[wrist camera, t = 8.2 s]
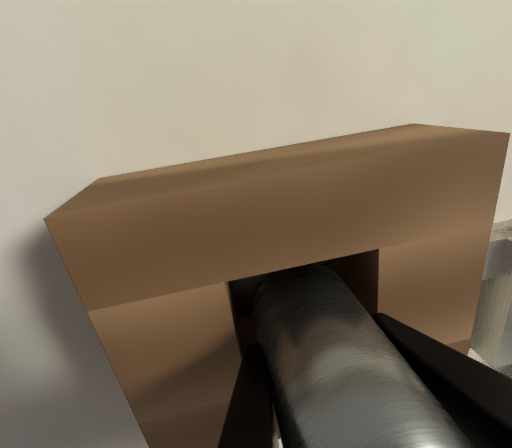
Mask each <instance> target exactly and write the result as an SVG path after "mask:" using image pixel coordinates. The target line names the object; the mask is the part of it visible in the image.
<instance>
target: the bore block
mask: <svg viewBox="0 0 512 448" xmlns="http://www.w3.org/2000/svg"><path fill="white" fill-rule="evenodd" d="M509 137H510V133H504V132H494V131H483V130H473V129H463V128H453V127H443V126H433V125H423V124H408V125H403V126H397V127H391V128H385V129H380V130H374V131H368V132H362V133H357V134H351V135H345V136H339V137H334V138H328V139H322V140H316V141H311V142H305V143H299V144H293V145H288V146H282V147H276V148H270V149H265V150H259V151H253V152H247V153H242V154H236V155H230V156H224V157H219V158H213V159H207V160H201V161H196V162H190V163H184V164H178V165H173V166H167V167H161V168H155V169H150V170H144V171H138V172H132V173H127V174H121V175H115V176H109V177H104V178H98V179H97V180H96V181H94V182H93V183H92V184H90V185H89V186H88V187H86V188H85V189H84V190H82V191H81V192H79V193H78V194H77V195H75V196H74V197H73V198H71V199H70V200H69V201H67V202H66V203H64V204H63V205H62V206H60V207H59V208H58V209H56V210H55V211H54V212H52V213H51V214H50V215H48V216H47V217H45V218H44V221H45V223H46V225H47V227H48V230H49V232H50V234H51V236H52V238H53V240H54V243H55V245H56V247H57V249H58V251H59V253H60V256H61V258H62V260H63V262H64V264H65V266H66V269H67V271H68V273H69V275H70V277H71V279H72V282H73V284H74V286H75V288H76V290H77V292H78V294H79V297H80V299H81V301H82V303H83V305H84V307H85V310H86V312H87V314H88V316H89V318H90V320H91V323H92V325H93V327H94V329H95V331H96V333H97V336H98V338H99V340H100V342H101V344H102V346H103V349H104V351H105V353H106V355H107V357H108V359H109V362H110V364H111V366H112V368H113V370H114V372H115V375H116V377H117V379H118V381H119V383H120V385H121V387H122V390H123V392H124V394H125V396H126V398H127V400H128V403H129V405H130V407H131V409H132V411H133V413H134V416H135V418H136V420H137V422H138V424H139V426H140V429H141V431H142V433H143V435H144V437H145V439H146V442H147V444H148V446H149V448H217V446H218V443H219V439H220V436H221V432H222V428H223V425H224V421H225V418H226V414H227V410H228V407H229V403H230V400H231V396H232V392H233V389H234V385H235V381H236V378H237V374H238V371H239V367H240V363H241V360H242V356H243V353H244V349H245V346H246V345H247V344H250V343H254V342H258V339H257V334H256V330H255V326H254V322H253V317H252V314H248V315H244V316H240V317H236V313H235V308H234V303H233V299H232V294H231V289H230V284H229V281H232V280H237V279H241V278H246V277H251V276H255V275H260V274H265V273H269V272H274V271H278V270H283V269H288V268H292V267H297V266H302V265H306V264H311V263H315V262H320V261H325V260H330V269H331V270H333V271H334V272H335V273H336V274H337V275H338V276H339V277H340V278H341V279H342V281H343V282H344V283H345V284H346V286H347V287H348V288H349V290H350V291H351V292H352V293H353V295H354V296H355V297H356V298H357V300H358V301H359V302H360V303H361V305H362V306H363V307H364V308H365V310H366V311H367V312H368V314H369V315H372V314H376V313H384V314H386V315H388V316H390V317H392V318H394V319H396V320H398V321H400V322H402V323H404V324H406V325H408V326H410V327H412V328H414V329H416V330H418V331H420V332H422V333H423V334H425V335H427V336H429V337H431V338H433V339H435V340H437V341H439V342H441V343H443V344H445V345H447V346H449V347H451V348H453V349H455V350H457V351H459V352H461V353H462V354H464V355H466V356H467V355H468V350H469V345H470V340H471V334H472V329H473V324H474V319H475V314H476V308H477V303H478V298H479V293H480V288H481V282H482V277H483V272H484V267H485V262H486V256H487V251H488V246H489V241H490V236H491V230H492V225H493V220H494V215H495V209H496V204H497V199H498V194H499V189H500V183H501V178H502V173H503V168H504V163H505V157H506V152H507V147H508V142H509ZM273 408H274V407H273ZM274 414H275V411H274ZM275 420H276V415H275ZM276 426H277V434H278V439H280V438H281V437H280V432H279V428H278V424H277V420H276Z"/></svg>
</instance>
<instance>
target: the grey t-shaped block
mask: <svg viewBox="0 0 512 448" xmlns="http://www.w3.org/2000/svg"><path fill="white" fill-rule="evenodd" d="M469 346H470V347H471V348H472V349H473V350H474V351H475V352H476V353H477V354H478V355H479V356H481V357H482V358H483V359H484V360H485V361H486V362H487V363H488V364H489V365H490V366H492V367H493V368H494V369H495V368H498V367H502V366H506V365H510V364H512V219H511V220H507V221H502V222H497V223H493V225H492V230H491V236H490V241H489V246H488V251H487V256H486V262H485V267H484V272H483V277H482V282H481V288H480V293H479V298H478V303H477V308H476V314H475V319H474V324H473V329H472V334H471V340H470V345H469Z"/></svg>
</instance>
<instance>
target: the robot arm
mask: <svg viewBox="0 0 512 448" xmlns="http://www.w3.org/2000/svg"><path fill="white" fill-rule="evenodd" d="M370 316H371V317H372V319H373V320H374V321H375V322H376V324H377V325H378V326H379V327H380V329H381V330H382V331H383V332H384V334H385V335H386V336H387V338H388V339H389V340H390V341H391V343H392V344H393V345H394V346H395V348H396V349H397V350H398V351H399V353H400V354H401V355H402V356H403V358H404V359H405V360H406V361H407V363H408V364H409V365H410V367H411V368H412V369H413V370H414V372H415V373H416V374H417V375H418V377H419V378H420V379H421V380H422V382H423V383H424V384H425V385H426V387H427V388H428V389H429V391H430V392H431V393H432V394H433V396H434V397H435V398H436V399H437V401H438V402H439V403H440V404H441V406H442V407H443V408H444V409H445V411H446V412H447V413H448V415H449V416H450V417H451V418H452V420H453V421H454V422H455V423H456V425H457V426H458V427H459V428H460V430H461V431H462V432H463V433H464V435H465V436H466V437H467V439H468V440H469V441H470V442H471V444H472V445H473V446H474V447H475V448H512V379H511V378H509V377H507V376H505V375H503V374H501V373H500V372H498V371H496V370H494V369H492V368H490V367H488V366H486V365H484V364H482V363H480V362H478V361H476V360H474V359H472V358H470V357H468V356H466V355H464V354H462V353H461V352H459V351H457V350H455V349H453V348H451V347H449V346H447V345H445V344H443V343H441V342H439V341H437V340H435V339H433V338H431V337H429V336H427V335H425V334H423V333H422V332H420V331H418V330H416V329H414V328H412V327H410V326H408V325H406V324H404V323H402V322H400V321H398V320H396V319H394V318H392V317H390V316H388V315H386V314H384V313H376V314H372V315H370ZM217 448H279V443H278V434H277V426H276V420H275V414H274V408H273V403H272V398H271V392H270V386H269V380H268V375H267V370H266V366H265V362H264V358H263V354H262V350H261V346H260V343H259V342H254V343H250V344H247V345H246V346H245V349H244V353H243V356H242V360H241V363H240V367H239V371H238V374H237V378H236V381H235V385H234V389H233V392H232V396H231V400H230V403H229V407H228V410H227V414H226V418H225V421H224V425H223V428H222V432H221V436H220V439H219V443H218V446H217Z"/></svg>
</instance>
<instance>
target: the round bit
mask: <svg viewBox="0 0 512 448" xmlns="http://www.w3.org/2000/svg"><path fill="white" fill-rule="evenodd" d="M252 317H253V322H254V326H255V330H256V334H257V339H258V342H259V343H260V346H261V350H262V354H263V358H264V362H265V366H266V370H267V375H268V380H269V386H270V392H271V398H272V403H273V407H274V411H275V415H276V420H277V424H278V428H279V432H280V437H281V441H282V445H283V448H475V447H474V446H473V445H472V444H471V442H470V441H469V440H468V439H467V437H466V436H465V435H464V433H463V432H462V431H461V430H460V428H459V427H458V426H457V425H456V423H455V422H454V421H453V420H452V418H451V417H450V416H449V415H448V413H447V412H446V411H445V409H444V408H443V407H442V406H441V404H440V403H439V402H438V401H437V399H436V398H435V397H434V396H433V394H432V393H431V392H430V391H429V389H428V388H427V387H426V385H425V384H424V383H423V382H422V380H421V379H420V378H419V377H418V375H417V374H416V373H415V372H414V370H413V369H412V368H411V367H410V365H409V364H408V363H407V361H406V360H405V359H404V358H403V356H402V355H401V354H400V353H399V351H398V350H397V349H396V348H395V346H394V345H393V344H392V343H391V341H390V340H389V339H388V338H387V336H386V335H385V334H384V332H383V331H382V330H381V329H380V327H379V326H378V325H377V324H376V322H375V321H374V320H373V319H372V317H371V316H370V315H369V314H368V312H367V311H366V310H365V308H364V307H363V306H362V305H361V303H360V302H359V301H358V300H357V298H356V297H355V296H354V295H353V293H352V292H351V291H350V290H349V288H348V287H347V286H346V284H345V283H344V282H343V281H342V279H341V278H340V277H339V276H338V275H337V274H336V273H335V272H334V271H333V270H331V269H329V268H328V267H326V266H323V265H320V264H315V263H311V264H306V265H302V266H297V267H292V268H288V269H283V270H279V271H277V272H276V273H274V274H273V275H271V276H270V277H269V278H268V279H267V280H266V281H265V282H264V283H263V284H262V285H261V287H260V288H259V289H258V291H257V293H256V295H255V297H254V300H253V305H252Z"/></svg>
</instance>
